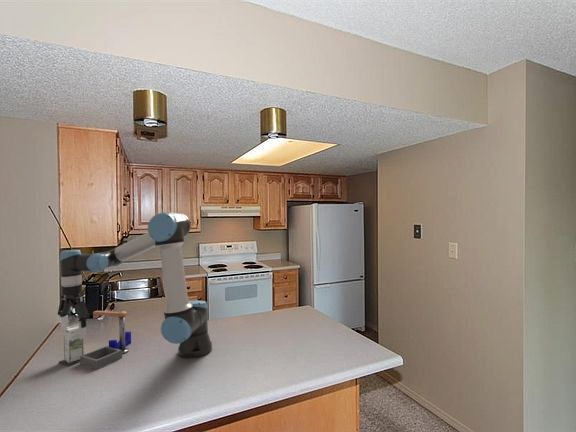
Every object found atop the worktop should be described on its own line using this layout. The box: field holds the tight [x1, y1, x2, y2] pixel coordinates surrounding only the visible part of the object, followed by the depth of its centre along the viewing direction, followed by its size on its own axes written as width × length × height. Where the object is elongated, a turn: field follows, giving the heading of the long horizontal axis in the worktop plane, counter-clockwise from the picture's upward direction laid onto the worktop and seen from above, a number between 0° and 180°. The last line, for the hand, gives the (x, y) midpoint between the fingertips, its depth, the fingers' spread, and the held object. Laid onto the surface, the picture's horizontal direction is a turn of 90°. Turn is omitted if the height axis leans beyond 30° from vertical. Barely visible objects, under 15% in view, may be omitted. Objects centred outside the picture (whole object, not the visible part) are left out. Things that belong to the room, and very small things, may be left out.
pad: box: [58, 359, 80, 367], centre depth 138 cm, size 8×8×1 cm
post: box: [118, 316, 130, 355], centre depth 146 cm, size 5×5×17 cm
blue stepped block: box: [108, 331, 132, 349], centre depth 151 cm, size 12×4×6 cm, turn 172°
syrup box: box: [63, 324, 85, 363], centre depth 138 cm, size 6×6×14 cm
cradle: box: [79, 345, 123, 370], centre depth 137 cm, size 12×12×4 cm
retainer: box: [92, 310, 127, 319], centre depth 147 cm, size 17×4×3 cm, turn 77°
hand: (73, 332), depth 138 cm, fingers open, 13 cm apart
